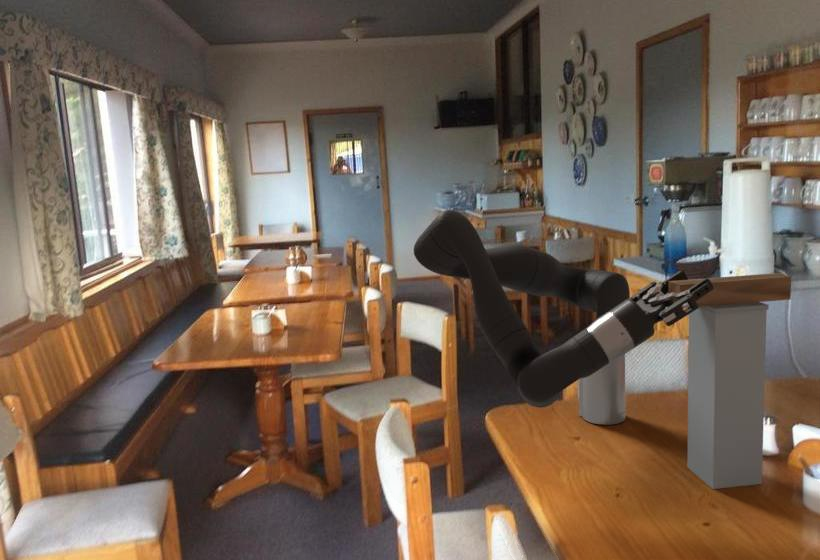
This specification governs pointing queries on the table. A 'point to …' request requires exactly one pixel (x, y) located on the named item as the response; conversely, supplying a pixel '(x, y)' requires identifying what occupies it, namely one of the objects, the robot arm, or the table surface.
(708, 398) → the stand
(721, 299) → the walnut bar
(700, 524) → the table surface
